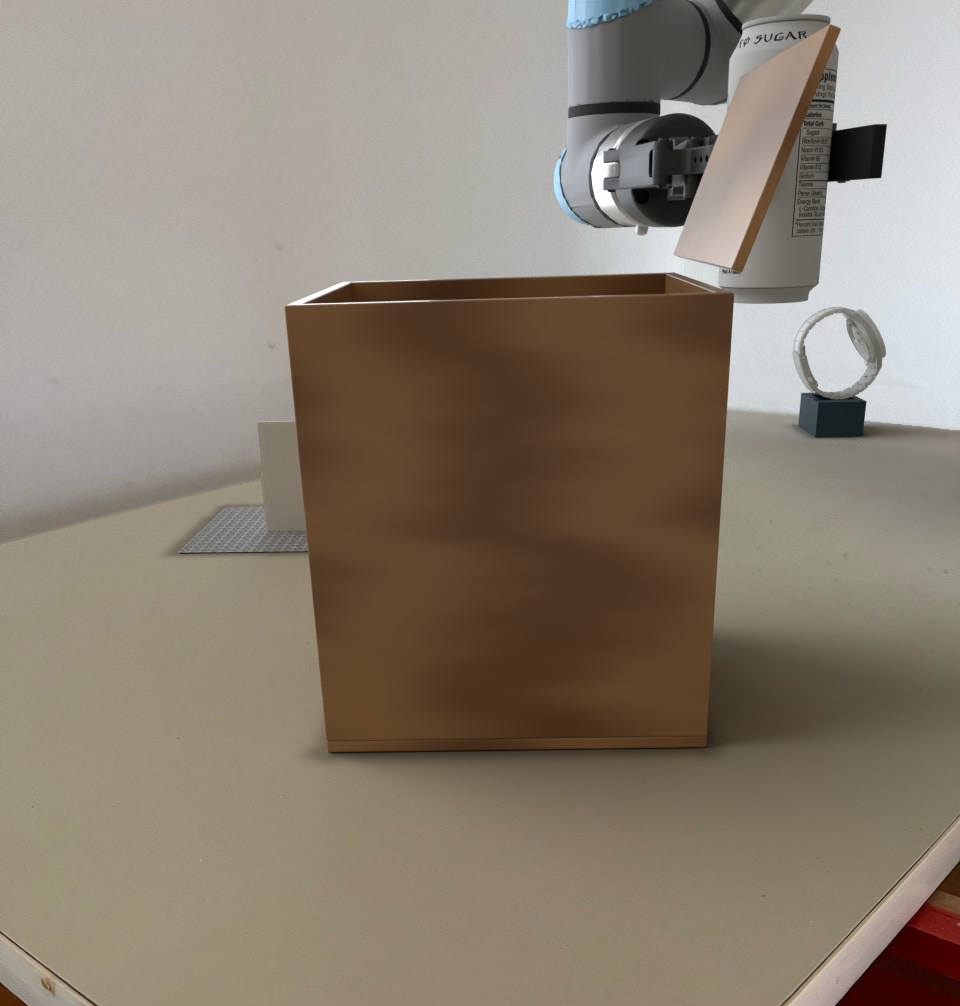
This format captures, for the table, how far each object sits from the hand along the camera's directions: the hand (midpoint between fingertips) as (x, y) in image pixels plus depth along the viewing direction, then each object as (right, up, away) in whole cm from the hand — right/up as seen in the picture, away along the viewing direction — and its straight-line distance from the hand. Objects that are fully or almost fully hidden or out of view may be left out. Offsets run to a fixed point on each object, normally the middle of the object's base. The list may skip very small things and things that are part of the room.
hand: (822, 152), depth 56 cm
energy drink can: (-1, -6, +8) cm, 10 cm away
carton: (-17, -29, -9) cm, 35 cm away
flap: (-9, -9, -18) cm, 22 cm away
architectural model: (-30, -19, +15) cm, 39 cm away
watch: (+14, -7, +40) cm, 43 cm away
